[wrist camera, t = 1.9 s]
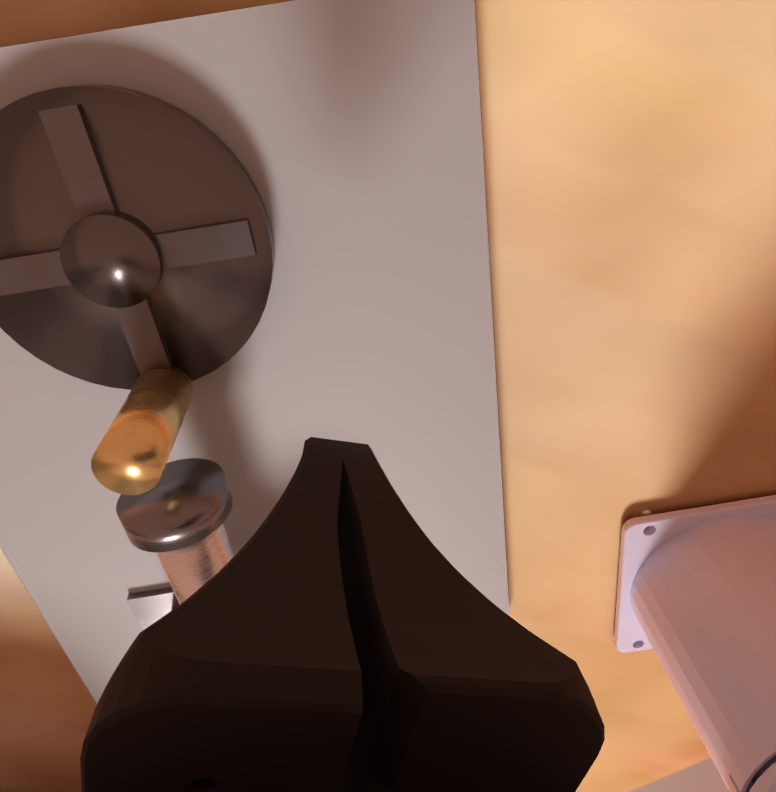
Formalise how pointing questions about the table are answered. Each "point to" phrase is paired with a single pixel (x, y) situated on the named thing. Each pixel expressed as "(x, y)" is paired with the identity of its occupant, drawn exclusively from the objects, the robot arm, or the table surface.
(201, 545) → the headed rod
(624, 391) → the table surface
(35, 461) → the board
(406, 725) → the robot arm
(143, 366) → the handwheel
